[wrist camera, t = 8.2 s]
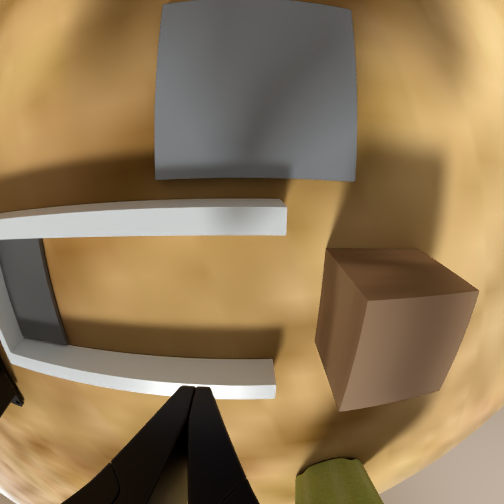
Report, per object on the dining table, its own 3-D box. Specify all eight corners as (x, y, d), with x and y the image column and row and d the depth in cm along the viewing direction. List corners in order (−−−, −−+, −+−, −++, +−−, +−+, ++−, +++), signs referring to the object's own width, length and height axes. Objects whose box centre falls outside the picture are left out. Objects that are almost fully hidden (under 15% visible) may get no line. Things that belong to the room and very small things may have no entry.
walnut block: (314, 340, 14) (339, 411, 10) (325, 247, 13) (367, 300, 8) (397, 332, 14) (439, 390, 10) (416, 248, 13) (479, 290, 8)
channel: (25, 347, 14) (11, 363, 12) (-12, 214, 11) (-34, 223, 9) (271, 372, 15) (274, 398, 13) (280, 198, 12) (287, 207, 10)
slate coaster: (159, 178, 11) (155, 180, 11) (166, 9, 9) (163, 4, 8) (350, 180, 12) (355, 181, 11) (346, 14, 9) (350, 9, 8)
